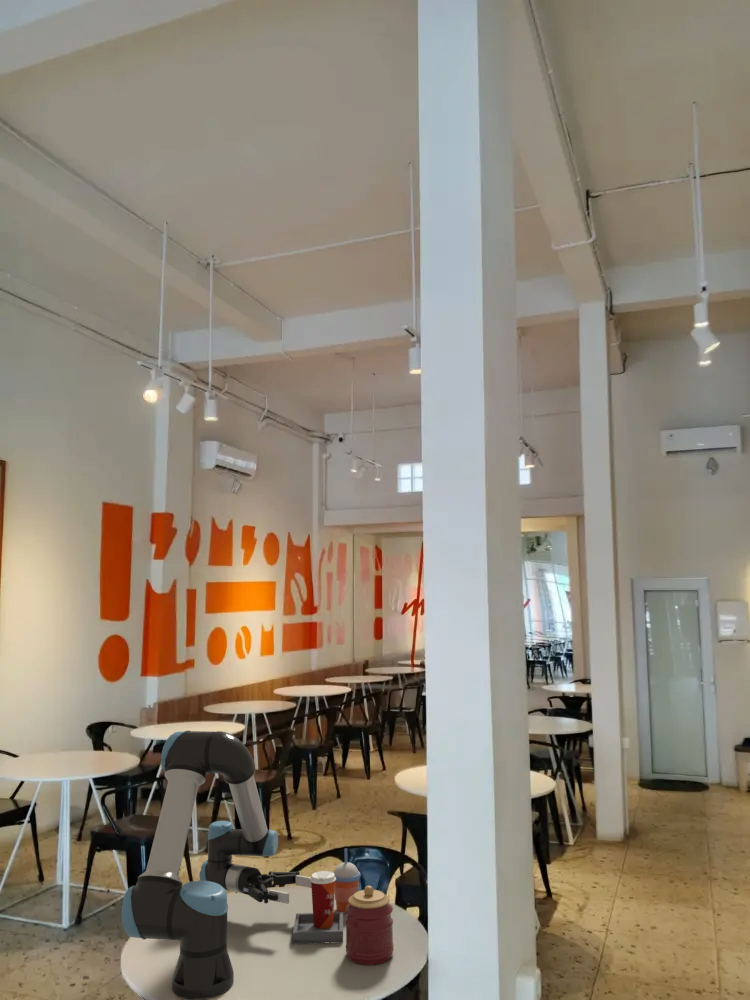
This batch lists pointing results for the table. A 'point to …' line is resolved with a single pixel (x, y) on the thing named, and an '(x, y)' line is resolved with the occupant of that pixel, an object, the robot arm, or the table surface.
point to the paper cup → (323, 898)
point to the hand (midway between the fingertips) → (301, 890)
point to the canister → (369, 927)
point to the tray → (317, 930)
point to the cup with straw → (345, 883)
